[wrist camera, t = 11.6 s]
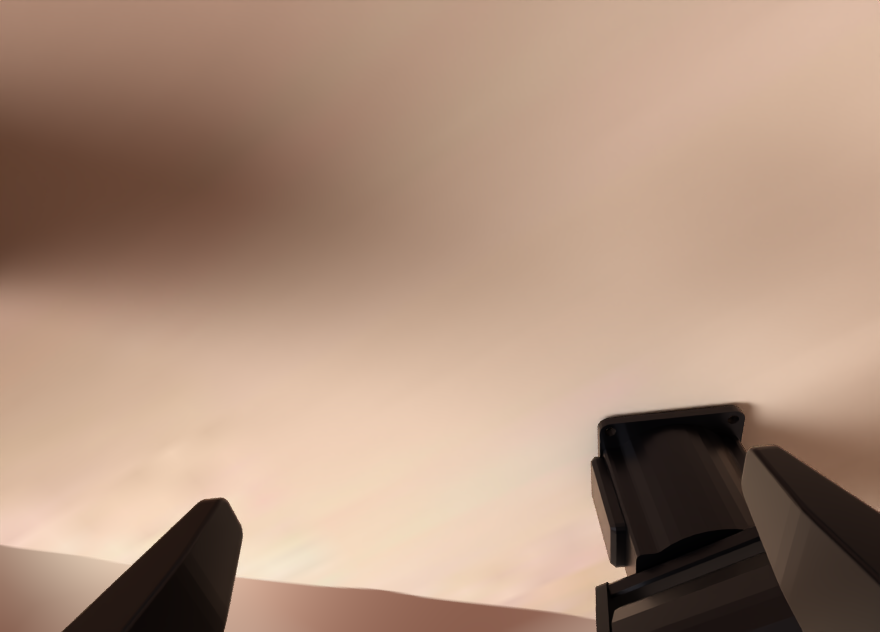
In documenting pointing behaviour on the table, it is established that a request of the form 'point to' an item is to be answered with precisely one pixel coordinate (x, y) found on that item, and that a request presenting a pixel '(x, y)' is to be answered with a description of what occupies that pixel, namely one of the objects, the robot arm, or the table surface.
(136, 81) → the table surface
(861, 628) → the robot arm
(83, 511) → the table surface
